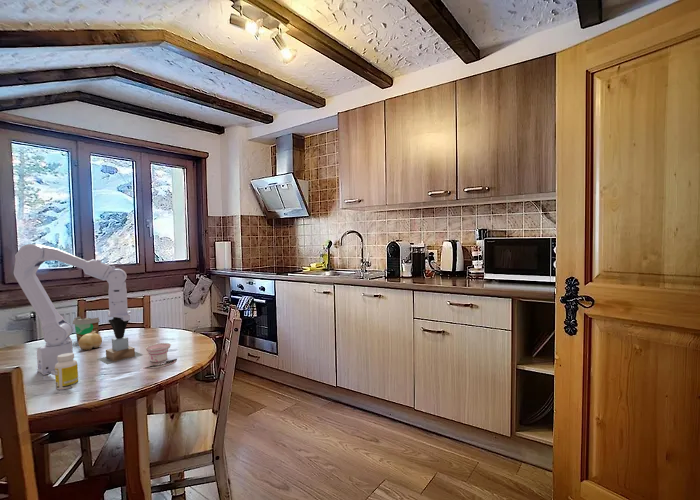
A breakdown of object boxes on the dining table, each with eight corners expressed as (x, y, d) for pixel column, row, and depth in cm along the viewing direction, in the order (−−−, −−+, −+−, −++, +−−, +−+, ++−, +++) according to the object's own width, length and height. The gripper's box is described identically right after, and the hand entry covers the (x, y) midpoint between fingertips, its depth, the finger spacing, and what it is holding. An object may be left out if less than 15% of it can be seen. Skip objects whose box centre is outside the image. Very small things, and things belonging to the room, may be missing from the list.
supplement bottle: (82, 382, 112) (81, 351, 112) (69, 390, 107) (68, 357, 107) (64, 383, 112) (63, 352, 112) (51, 390, 107) (49, 358, 107)
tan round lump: (100, 349, 147) (99, 332, 147) (76, 353, 144) (75, 335, 144) (103, 344, 155) (103, 328, 154) (81, 347, 151) (80, 330, 151)
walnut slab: (113, 361, 129) (113, 353, 129) (106, 357, 133) (105, 349, 133) (134, 355, 135) (134, 348, 135) (126, 352, 139) (126, 345, 139)
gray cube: (116, 351, 131) (116, 340, 131) (112, 349, 134) (111, 338, 133) (128, 348, 134) (128, 337, 134) (124, 346, 137) (123, 336, 137)
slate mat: (107, 367, 126) (107, 364, 126) (96, 361, 132) (96, 359, 132) (143, 357, 136) (143, 354, 136) (132, 352, 142) (132, 350, 142)
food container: (66, 341, 161) (65, 319, 161) (80, 337, 167) (79, 316, 167) (87, 343, 158) (86, 320, 157) (100, 339, 164) (99, 317, 163)
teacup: (184, 358, 134) (183, 342, 133) (159, 370, 122) (158, 352, 122) (157, 356, 137) (156, 340, 136) (130, 368, 125) (130, 350, 125)
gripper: (138, 301, 132) (140, 338, 133) (121, 298, 141) (123, 332, 141) (117, 304, 127) (118, 342, 127) (101, 301, 135) (102, 336, 136)
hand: (119, 337), depth 134 cm, fingers closed
